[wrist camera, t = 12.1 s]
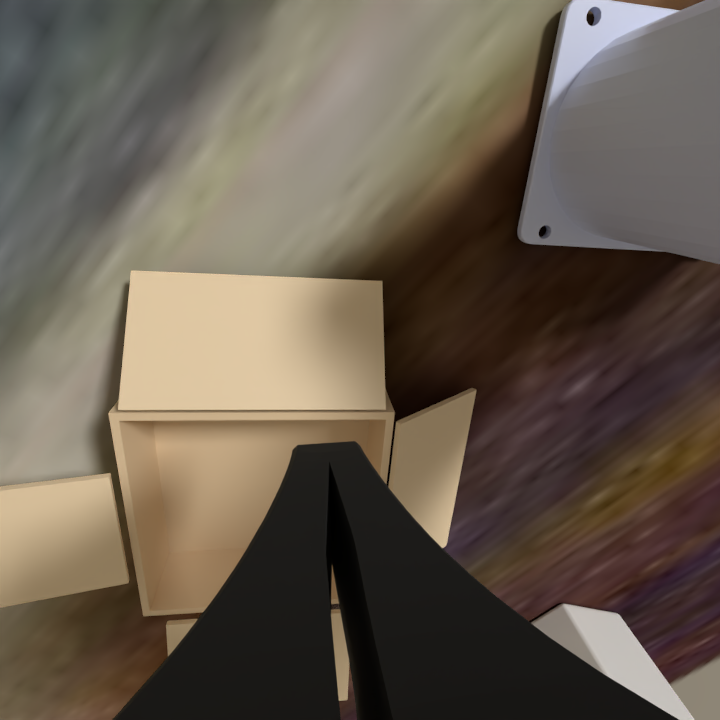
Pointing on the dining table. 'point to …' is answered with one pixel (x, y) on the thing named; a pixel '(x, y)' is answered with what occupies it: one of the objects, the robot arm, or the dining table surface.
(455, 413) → the flap
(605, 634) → the jar
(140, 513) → the carton
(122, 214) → the dining table surface
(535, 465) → the dining table surface
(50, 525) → the flap
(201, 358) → the flap
